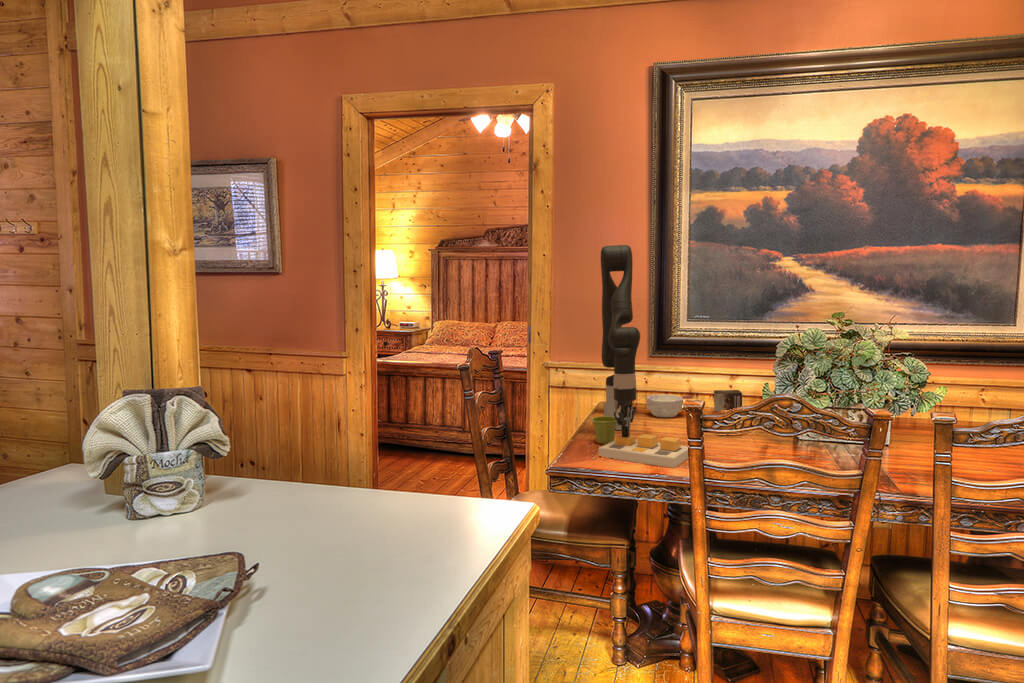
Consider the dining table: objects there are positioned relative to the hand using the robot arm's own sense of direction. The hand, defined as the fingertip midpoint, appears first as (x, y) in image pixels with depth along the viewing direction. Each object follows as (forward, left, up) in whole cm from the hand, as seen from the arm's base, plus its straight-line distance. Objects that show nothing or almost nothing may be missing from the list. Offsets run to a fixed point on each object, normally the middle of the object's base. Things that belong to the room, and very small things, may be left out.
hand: (625, 436), depth 222 cm
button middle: (+8, 0, -2) cm, 8 cm away
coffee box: (+22, +41, -6) cm, 47 cm away
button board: (+8, -2, -5) cm, 10 cm away
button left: (0, 0, -3) cm, 3 cm away
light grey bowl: (-11, +61, -6) cm, 62 cm away
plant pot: (-12, +8, -6) cm, 16 cm away
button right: (+16, 0, -2) cm, 16 cm away
